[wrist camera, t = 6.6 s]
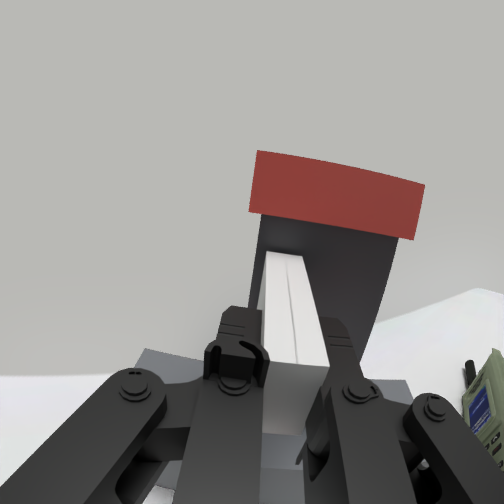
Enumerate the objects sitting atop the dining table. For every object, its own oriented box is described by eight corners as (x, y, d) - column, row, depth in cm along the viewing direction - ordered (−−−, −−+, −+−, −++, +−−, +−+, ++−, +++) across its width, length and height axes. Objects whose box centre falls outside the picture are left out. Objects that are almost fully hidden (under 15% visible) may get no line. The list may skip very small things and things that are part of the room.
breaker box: (376, 422, 23) (403, 376, 20) (394, 498, 15) (436, 459, 13) (152, 396, 23) (146, 345, 21) (119, 473, 15) (100, 429, 13)
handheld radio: (450, 547, 9) (454, 367, 30) (479, 547, 8) (473, 373, 29) (513, 510, 7) (478, 324, 28) (540, 508, 5) (498, 332, 27)
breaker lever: (333, 401, 18) (398, 179, 14) (340, 433, 15) (425, 184, 11) (227, 389, 18) (260, 152, 14) (221, 423, 15) (257, 150, 11)
